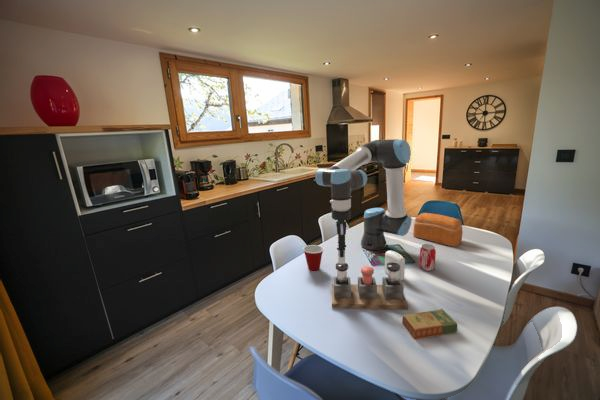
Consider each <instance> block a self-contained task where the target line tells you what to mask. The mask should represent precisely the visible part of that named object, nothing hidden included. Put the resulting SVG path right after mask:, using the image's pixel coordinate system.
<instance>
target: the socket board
mask: <svg viewBox="0 0 600 400" xmlns="http://www.w3.org/2000/svg"><path fill="white" fill-rule="evenodd" d="M404 288H405V287H404V285H403V283H402V280H400V278H399V277H398V285H388V276H383V277H382V281H381V284H377V282H376V278H375V276H372V285H362V276H357V284H351V277H350V276H347V285H346V284H337V276H333V283H331V308H332V309H370V310H372V309H374V310H375V309H376V310H407V311H408V310H409V304H408V302H407V299H406V297H405V294H404Z"/></svg>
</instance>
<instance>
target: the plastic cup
mask: <svg viewBox="0 0 600 400" xmlns="http://www.w3.org/2000/svg"><path fill="white" fill-rule="evenodd" d="M302 251H303V252H304V256H305V260H306V264H307V269H308V270H310V272H311V273H315V272H319V270H320V268H321V263H322V256H323V252H324V251H325V248H324V247H323V246H321V245H317V244H310V245H309V244H308V245H305V246H304V247H302Z"/></svg>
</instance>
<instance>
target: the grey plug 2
mask: <svg viewBox="0 0 600 400" xmlns="http://www.w3.org/2000/svg"><path fill="white" fill-rule="evenodd" d="M387 269H388V274H387V277H388V285H398V271H399V270H400V265H399V264H397V263H393V262H391V263H388V264H387Z"/></svg>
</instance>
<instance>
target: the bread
mask: <svg viewBox="0 0 600 400" xmlns="http://www.w3.org/2000/svg"><path fill="white" fill-rule="evenodd" d="M462 225H463V224H462V221H461V220H460V219H459V218H455V217H451V216H448V215H443V214H436V213H429V212H422V213H420V214H417V216H416V217H415V219H414V222H413V234H412V236H413V237H415V238H418V239H423V240H426V241H430V242H433V243H437V244H441V245H445V246H450V247H453V248H454V247H458V246H459V245H460V244H461V243H462V241H463V226H462Z"/></svg>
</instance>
